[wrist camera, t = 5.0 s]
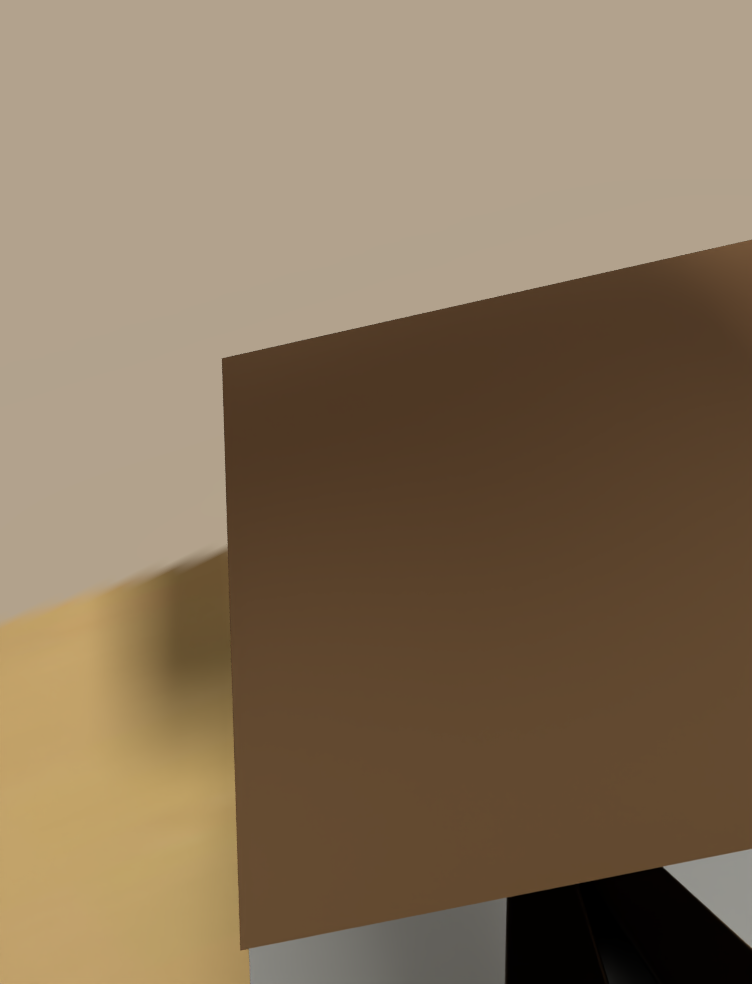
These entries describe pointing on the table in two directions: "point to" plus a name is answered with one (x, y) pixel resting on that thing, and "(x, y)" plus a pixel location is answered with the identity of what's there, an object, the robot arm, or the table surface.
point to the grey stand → (467, 937)
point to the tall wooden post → (492, 597)
